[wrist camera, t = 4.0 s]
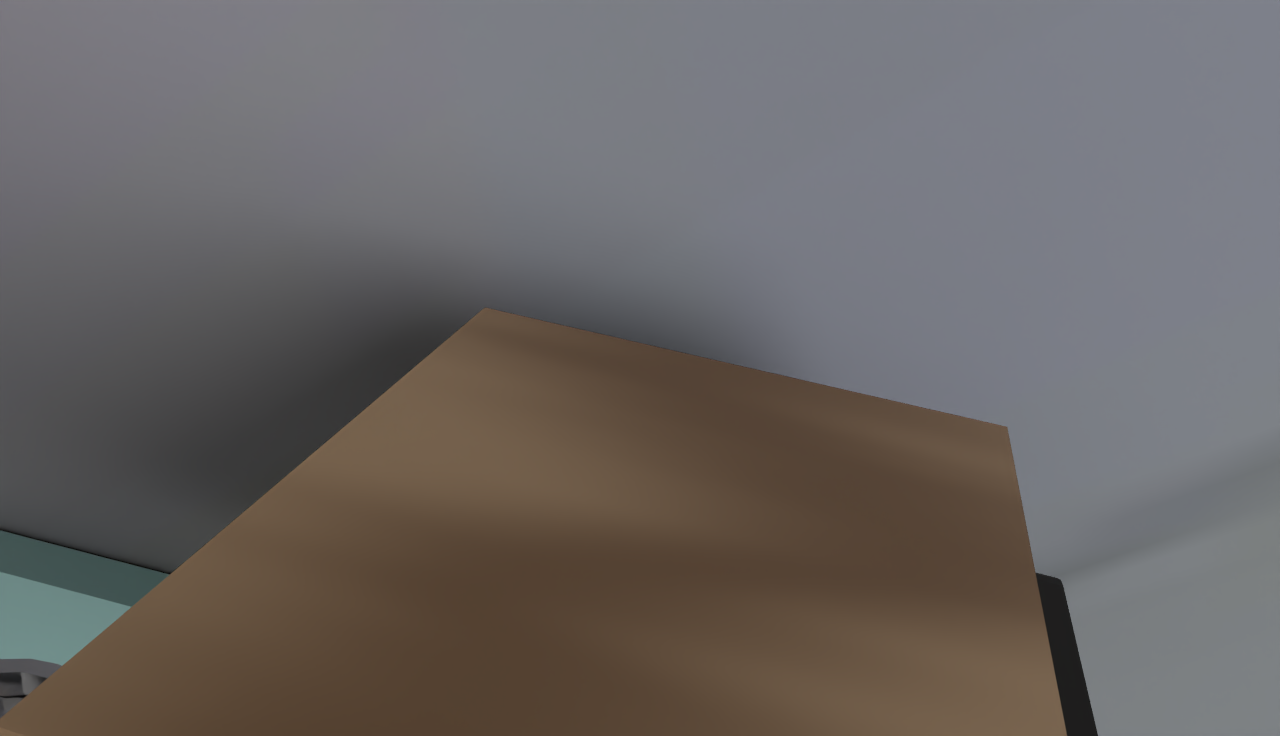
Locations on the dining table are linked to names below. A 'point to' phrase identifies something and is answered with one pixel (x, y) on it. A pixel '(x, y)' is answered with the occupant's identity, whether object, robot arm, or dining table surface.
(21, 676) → the robot arm
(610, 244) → the dining table surface
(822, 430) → the walnut block
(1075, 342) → the dining table surface
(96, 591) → the coaster
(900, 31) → the dining table surface
